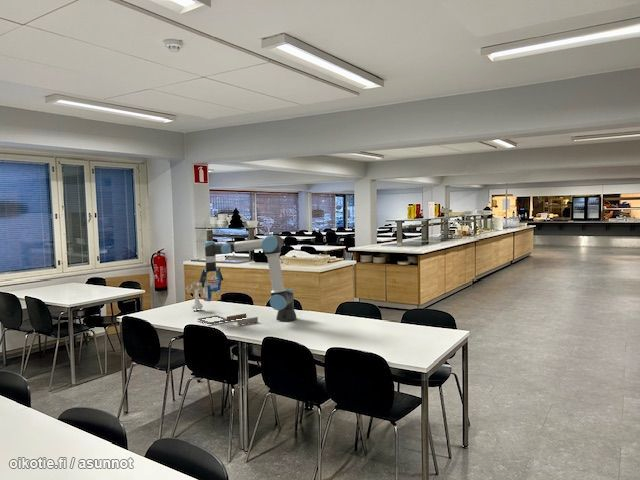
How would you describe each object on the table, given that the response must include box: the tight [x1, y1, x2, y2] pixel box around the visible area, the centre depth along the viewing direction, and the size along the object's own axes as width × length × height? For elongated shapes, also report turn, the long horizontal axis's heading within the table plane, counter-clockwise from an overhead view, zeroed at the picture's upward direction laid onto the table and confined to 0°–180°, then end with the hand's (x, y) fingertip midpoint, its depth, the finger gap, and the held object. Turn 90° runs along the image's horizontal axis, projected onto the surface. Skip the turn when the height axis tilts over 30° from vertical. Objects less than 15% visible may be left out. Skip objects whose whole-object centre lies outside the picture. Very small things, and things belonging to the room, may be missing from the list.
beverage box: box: [202, 270, 222, 303], centre depth 350 cm, size 7×11×22 cm, turn 133°
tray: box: [197, 314, 228, 324], centre depth 351 cm, size 20×16×2 cm
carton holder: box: [226, 313, 259, 326], centre depth 346 cm, size 18×16×4 cm
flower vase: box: [184, 281, 204, 310], centre depth 394 cm, size 13×18×25 cm
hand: (211, 290), depth 350 cm, fingers closed on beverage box, 11 cm apart
